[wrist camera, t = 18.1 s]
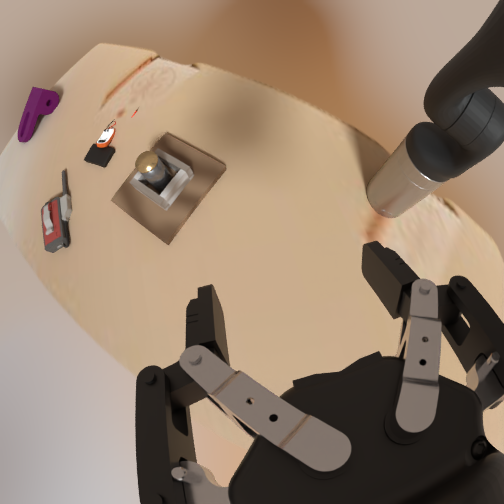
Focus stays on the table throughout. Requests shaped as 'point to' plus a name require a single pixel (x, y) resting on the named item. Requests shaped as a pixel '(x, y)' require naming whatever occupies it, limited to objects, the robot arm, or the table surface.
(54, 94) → the mounting bracket
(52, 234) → the walkie-talkie
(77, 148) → the table surface
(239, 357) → the table surface
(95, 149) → the multimeter
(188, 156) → the dock board
